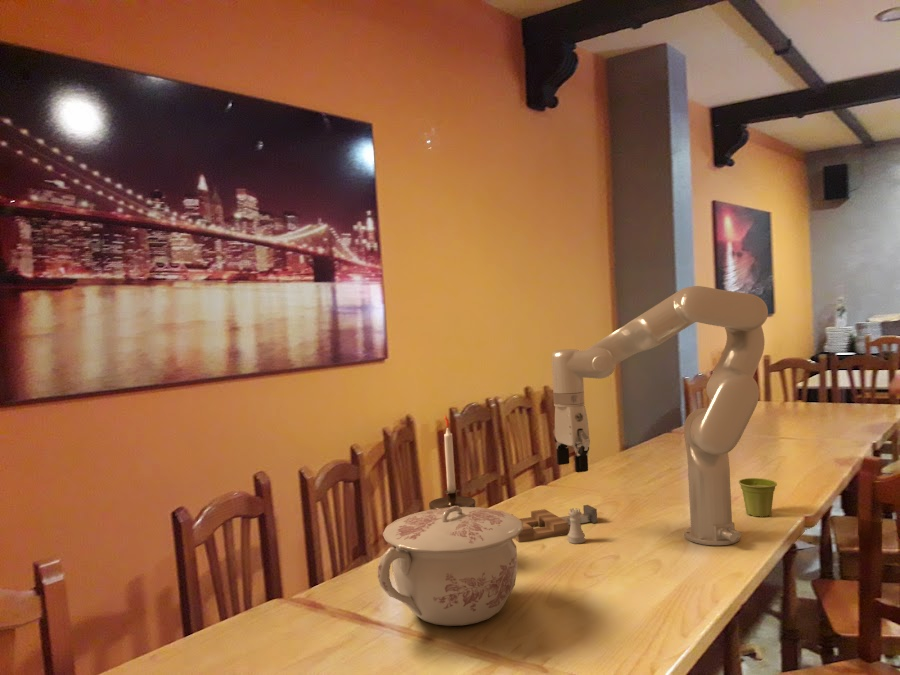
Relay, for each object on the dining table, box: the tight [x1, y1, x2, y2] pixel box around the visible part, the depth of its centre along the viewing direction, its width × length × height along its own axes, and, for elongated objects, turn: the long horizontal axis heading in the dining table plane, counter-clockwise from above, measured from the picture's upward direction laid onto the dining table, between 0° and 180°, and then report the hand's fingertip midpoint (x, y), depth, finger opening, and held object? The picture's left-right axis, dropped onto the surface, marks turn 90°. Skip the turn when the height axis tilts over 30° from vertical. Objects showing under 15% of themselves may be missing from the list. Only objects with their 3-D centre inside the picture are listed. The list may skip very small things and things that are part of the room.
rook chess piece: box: [567, 507, 586, 545], centre depth 172 cm, size 4×4×8 cm
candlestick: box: [428, 414, 477, 510], centre depth 161 cm, size 11×11×35 cm
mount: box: [511, 508, 570, 543], centre depth 182 cm, size 14×14×3 cm
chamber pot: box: [377, 506, 523, 627], centre depth 135 cm, size 28×28×21 cm
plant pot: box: [738, 477, 778, 518], centre depth 185 cm, size 9×9×9 cm
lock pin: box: [559, 504, 598, 526], centre depth 186 cm, size 5×11×4 cm, turn 108°
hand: (572, 467), depth 171 cm, fingers open, 9 cm apart
